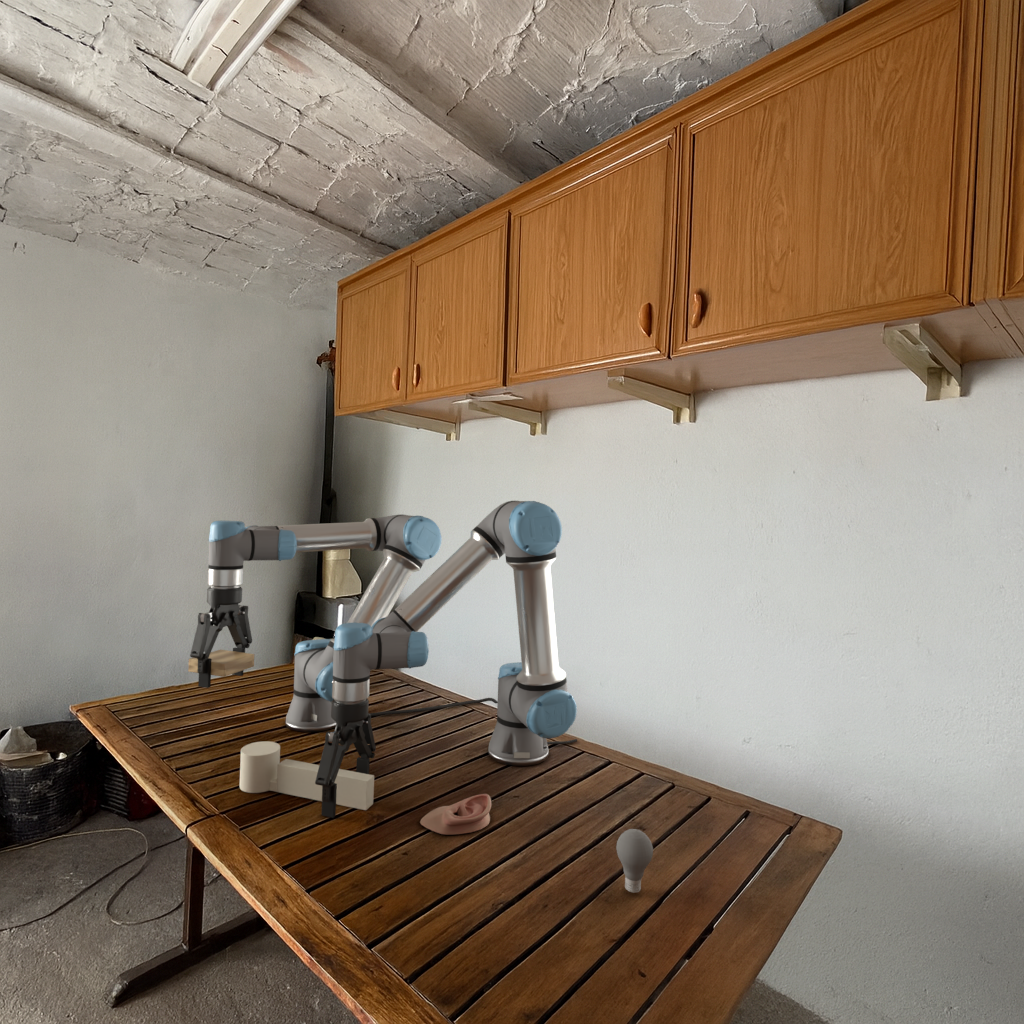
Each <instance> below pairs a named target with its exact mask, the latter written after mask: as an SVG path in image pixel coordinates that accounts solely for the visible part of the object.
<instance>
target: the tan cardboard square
mask: <svg viewBox="0 0 1024 1024" xmlns="http://www.w3.org/2000/svg"><path fill="white" fill-rule="evenodd" d="M209 658H211V659H212V660H211V676H216V677H223V678H225V677H228V676H230V675H231V676H232V674H234V673H236V672H239V671H242V670H244V671H245V670H248V669H251V668H254V667H255V653H251V652H250V653H249V652H245V653H242V652H235V651H233V650H226V649H217V650H214V651H211V653H210V655H209ZM187 668H188V672H189V673H196V674H199V673H198V671H197V669H198V659H197V658H193V657H190V658H188V667H187Z"/></svg>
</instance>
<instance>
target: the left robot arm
mask: <svg viewBox="0 0 1024 1024" xmlns="http://www.w3.org/2000/svg"><path fill="white" fill-rule="evenodd" d="M442 540H443V539H442V533H441V529H440V528H439V525H438V524H437V523H436V522H435V521H434V520H433V519H431V518H428V517H426V516H423V515H410V514H393V515H392V514H391V515H388V516H387V515H386V516H380V517H368V518H366V519H365V520H364V521H354V522H353V521H352V522H351V521H349V522H331V523H329V522H328V523H308V524H307V523H306V524H305V523H304V524H281V525H261V526H260V525H248V526H246V525H245V522H244V521H241V520H214V521H212V522H211V524H210V527H209V536H208V567H207V569H208V570H207V586H209V587H208V588H207V589H206V603H207V604H208V605H209V609H208V611H207V612H198V614H197V626H196V630H195V633H194V638H193V641H192V646H191V650H190V653H189V656H190V658H197V659H198V669H197V671H198V673H197V674H198V684H197V687H199V688H204V689H205V688H206V689H209V688H211V686H212V685H211V684H212V683H211V682H212V675H211V660H212V659H211V658H209V655H210V653H211V652H213V648H214V646H215V644H216V642H217V638H218V636H219V634H220V632H222V631H223V628H225V627H227V629H228V631H229V634H230V636H231V638H232V640H233V643H234V645H235V647H233V648H232V651H235V652H242V653H246V649H249V648H250V646H251V644H252V643H253V637H252V636H253V635H252V630H251V624H250V619H249V606H248V605H243V604H241V603H242V601H243V588H242V587H241V586H243V584H244V563H245V562H250V561H278V562H281V561H290V560H292V559H293V558H294V557H295V556H296V553H309V552H325V551H327V552H328V551H340V550H341V551H342V550H356V549H357V550H359V549H365V550H366V551H367V552H382V553H383V560H382V562H381V563H380V565H379V567H378V569H377V570H376V572H375V574H374V575H373V577H372V579H371V581H370V582H369V584H368V585H367V587H366V589H365V591H364V593H363V594H362V596H361V598H360V600H359V602H358V604H357V605H356V606H355V609H354V611H353V612H352V614H351V615H350V617H349V619H348V621H347V622H346V623H366V624H369V625H370V626H371V627H372V625H373V624H374V623H375V622H376V621H377V620H378V619H381V618H385V617H387V616H388V615H389V614H390V613H391V612H392V610H393V608H394V606H395V604H396V603H397V600H398V599H399V597H400V595H401V593H402V592H403V590H404V588H405V586H406V584H407V582H408V581H409V580H410V577H411V576H412V574H413V573H416V572H419V571H421V569H422V567H423V565H424V564H425V562H426V561H427V560H430V559H432V558H434V557H435V556H436V555H437V554H438V552H440V548H441V546H442ZM334 641H335V637H334V638H325V639H318V640H313V639H307V640H303V641H299V642H297V644H296V645H295V650H294V653H293V654H294V655H293V656H294V672H293V673H294V674H293V695H292V696H293V697H292V699H291V702H290V704H289V708H288V711H287V713H286V715H285V726H286V728H287V729H289V730H291V731H294V732H295V731H296V732H301V733H316V732H325V731H329V730H332V729H335V727H336V722H335V721H334V720H333V719H332V718H331V703H332V700H333V698H332V688H333V684H332V681H333V652H334V648H333V646H334ZM244 671H245V670H242V671H239V672H236V673H234V674H231V676H237V677H242V676H244ZM485 702H493V703H494V704H498V700H496V698H493V697H484V698H480V699H473V700H465V701H459V702H453V703H445V704H440V705H434V706H433V705H432V706H426V707H419V708H418V707H417V708H411V709H400V710H399V709H398V710H389V711H388V710H386V711H378V712H368V714H371V718H372V717H381V716H389V715H390V716H391V715H401V714H413V713H420V712H427V711H433V710H440V709H441V710H442V709H446V708H453V707H459V706H465V705H471V704H481V703H485Z"/></svg>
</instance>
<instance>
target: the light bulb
mask: <svg viewBox="0 0 1024 1024" xmlns="http://www.w3.org/2000/svg"><path fill="white" fill-rule="evenodd" d="M615 849H616V854H617V857H618V859H619V861H620V863H621V865H622V867H623V873H624V874H623V875H624V876H625V878H624V888H625V890H627V891H628V892H630V893H634V894H635V893H639V892H640V891H641V889H642V887H641V886H642V879H643V877H644V875H645V871H646V868H647V867H648V866H649V864H650V863H651V861H652V859H653V855H654V847H653V843H652V841H651V838H649V836H648V835H647V834H646V833H645V832H643V831H642V830H641V829H636V828H629V829H627V830H625V831H623V832H622V833H621V834H620V835H619V837H618V839H617V841H616V847H615Z"/></svg>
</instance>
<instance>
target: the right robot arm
mask: <svg viewBox="0 0 1024 1024" xmlns="http://www.w3.org/2000/svg"><path fill="white" fill-rule="evenodd" d="M562 535H563V527H562V522H561V520H560V517H559V515H558V513H557V512H556V511H555V510H554V509H553V508H552V507H550V506H549V505H548V504H545V503H543V502H540V501H535V500H509V501H508V500H507V501H506V502H503V503H500V504H499V505H498V506H497V507H495V508H494V509H493V510H492V511H491V512H489V513H488V514H487V515H486V516H485V517H484V518H483V519H482V520H481V521H480V522H479V523H478V524H477V525H476V526H475V527H474V528H473V529H472V530H471V531H470V537H469V538H468V539H467V540H466V541H465V542H464V543H463V544H462V545H461V546H460V547H459V548H458V549H457V550H456V551H454V553H452V554H451V555H450V556H449V557H448V558H447V559H446V560H445V561H444V562H443V563H441V565H440V566H439V567H437V569H435V570H434V571H433V572H432V573H431V574H430V575H429V576H428V577H427V578H426V579H425V580H424V581H423V582H422V583H421V584H420V585H418V587H417V588H416V589H415V590H414V591H413V592H411V593H410V594H409V595H408V596H407V597H406V598H405V599H404V600H403V601H402V602H401V603H400V604H399V605H398V606H396V608H394V609H393V610H392V611H390V613H389V615H388V616H387V617H385V618H381V619H378V620H377V621H376V622H375V623H374V624H373V625H372V627H371V626H370V625H369V624H366V623H347V622H345V623H342V624H339V625H338V626H337V627H336V629H335V632H334V638H335V641H334V646H333V648H334V652H333V681H332V684H333V688H332V698H333V700H332V703H331V718H332V719H333V720H334V721H335V722H336V727H335V728H334V731H327V732H325V736H324V737H325V738H324V745H323V750H322V752H321V758H320V762H319V764H318V765H319V769H318V773H317V777H316V781H315V784H316V785H321V786H322V801H321V816H323V817H327V818H332V819H334V818H336V815H337V813H336V811H337V804H336V792H337V784H336V783H334V782H335V779H336V777H337V774H338V771H339V769H341V765H342V762H343V760H344V757H345V755H346V753H347V752H348V751H349V750H350V747H351V745H353V746H354V748H355V750H356V752H357V754H358V755H359V756H358V757H357V758H356V766H355V767H356V770H355V772H359V773H364V774H369V775H370V759H374V758H375V755H376V753H375V752H376V750H377V747H376V742H375V735H374V731H373V727H372V717H371V714H368V713H369V708H370V707H369V704H370V703H369V702H370V701H369V697H370V681H371V680H370V679H371V678H370V677H371V671H372V670H394V669H396V670H397V669H413V668H420V667H424V666H425V665H426V664H427V663H428V659H429V652H430V651H429V649H430V647H429V640H428V636H427V634H426V633H425V632H424V631H420V630H421V629H422V628H423V627H424V626H425V625H427V623H428V622H429V621H430V620H431V619H432V618H433V617H434V616H435V615H436V614H437V613H438V612H440V610H442V608H443V607H445V606H446V605H447V604H448V603H449V602H450V601H451V600H452V599H453V598H454V597H455V596H456V595H457V594H458V593H459V592H461V590H462V589H463V588H465V587H466V586H467V584H469V583H470V582H471V581H472V580H473V579H474V578H475V577H476V576H477V575H478V574H479V573H480V572H481V571H483V569H484V568H485V567H486V566H487V565H488V564H489V563H491V561H498V560H499V559H501V558H502V557H503V555H505V563H506V564H507V565H508V566H509V567H510V568H512V570H513V581H514V582H513V583H514V592H515V593H514V594H515V603H516V612H517V613H516V614H517V615H516V616H517V625H518V638H519V647H520V648H519V649H520V659H521V660H520V661H521V662H508V663H505V664H502V665H501V666H500V667H499V671H498V677H497V702H498V703H496V705H497V706H496V707H497V708H496V724H495V726H494V729H493V732H492V734H491V737H490V741H488V742H489V743H488V750H487V753H488V756H489V757H490V758H491V759H492V760H494V761H495V762H498V763H500V764H504V765H507V766H515V767H529V766H534V765H535V766H536V765H538V764H542V763H543V762H545V761H546V760H548V758H549V745H568V744H573V743H577V742H578V739H577V738H575V739H570V740H564V741H563V740H562V741H561V740H560V741H559V740H558V741H556V740H555V741H548V740H549V739H551V740H552V739H557V738H558V737H560V736H563V735H564V734H565V733H567V732H568V731H569V729H570V728H571V726H573V725H574V723H575V720H576V718H577V714H578V707H577V703H576V700H575V697H574V696H573V695H572V694H571V693H570V692H569V691H568V680H567V673H566V671H565V670H564V669H562V668H561V667H560V664H559V654H558V653H559V652H558V641H557V630H556V617H555V607H554V594H553V593H554V592H553V580H552V573H551V572H552V569H551V567H552V564H553V563H554V562H555V561H556V559H557V547H558V545H559V543H560V542H561V539H562ZM330 778H331V779H330Z"/></svg>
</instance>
